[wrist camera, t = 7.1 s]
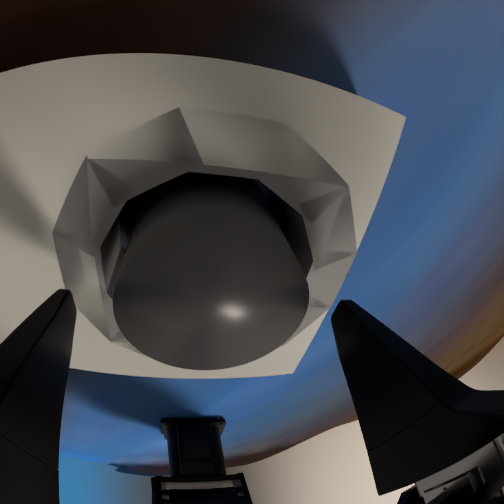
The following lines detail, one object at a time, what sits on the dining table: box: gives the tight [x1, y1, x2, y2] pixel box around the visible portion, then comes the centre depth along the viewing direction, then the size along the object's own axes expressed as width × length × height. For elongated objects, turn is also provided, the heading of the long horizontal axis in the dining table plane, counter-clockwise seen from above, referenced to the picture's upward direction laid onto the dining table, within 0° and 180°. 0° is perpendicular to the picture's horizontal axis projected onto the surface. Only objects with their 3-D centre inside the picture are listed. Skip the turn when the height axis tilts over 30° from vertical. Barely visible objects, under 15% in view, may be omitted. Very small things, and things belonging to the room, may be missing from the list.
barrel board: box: [0, 53, 406, 379], centre depth 10 cm, size 14×18×3 cm
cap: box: [113, 172, 309, 370], centre depth 10 cm, size 6×6×5 cm
